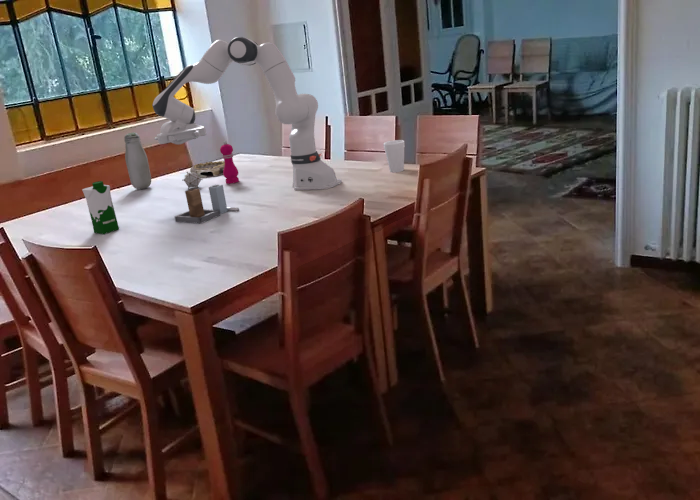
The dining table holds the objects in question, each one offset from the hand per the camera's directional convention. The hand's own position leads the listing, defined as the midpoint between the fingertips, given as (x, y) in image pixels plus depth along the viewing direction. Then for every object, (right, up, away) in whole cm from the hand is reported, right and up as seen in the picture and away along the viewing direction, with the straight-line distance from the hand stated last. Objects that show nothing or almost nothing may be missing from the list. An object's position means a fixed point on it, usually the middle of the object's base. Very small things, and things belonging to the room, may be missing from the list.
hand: (186, 136), depth 284 cm
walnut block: (+7, -33, -9) cm, 35 cm away
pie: (-5, -6, +79) cm, 80 cm away
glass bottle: (-36, -16, +60) cm, 72 cm away
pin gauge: (+18, -30, -3) cm, 35 cm away
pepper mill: (+11, -14, +48) cm, 52 cm away
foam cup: (+88, -11, +27) cm, 93 cm away
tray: (+7, -34, -9) cm, 36 cm away
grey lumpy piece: (-7, -17, +47) cm, 51 cm away
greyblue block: (+15, -31, -4) cm, 35 cm away
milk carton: (-29, -39, -10) cm, 50 cm away
